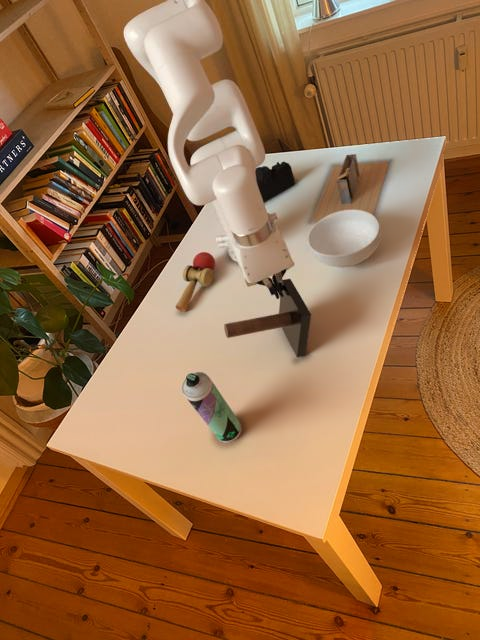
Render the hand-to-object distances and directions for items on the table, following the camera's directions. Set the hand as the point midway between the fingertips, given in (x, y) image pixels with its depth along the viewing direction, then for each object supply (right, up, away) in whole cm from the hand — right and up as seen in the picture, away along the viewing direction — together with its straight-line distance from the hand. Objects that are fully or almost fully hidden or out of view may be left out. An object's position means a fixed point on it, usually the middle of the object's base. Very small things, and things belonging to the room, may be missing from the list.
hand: (278, 293), depth 105 cm
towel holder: (-4, -9, +1) cm, 10 cm away
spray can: (-10, -28, -6) cm, 31 cm away
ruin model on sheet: (+23, +30, +31) cm, 49 cm away
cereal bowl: (+18, +11, +16) cm, 26 cm away
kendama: (-19, +3, +26) cm, 32 cm away
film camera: (+1, +34, +44) cm, 55 cm away
